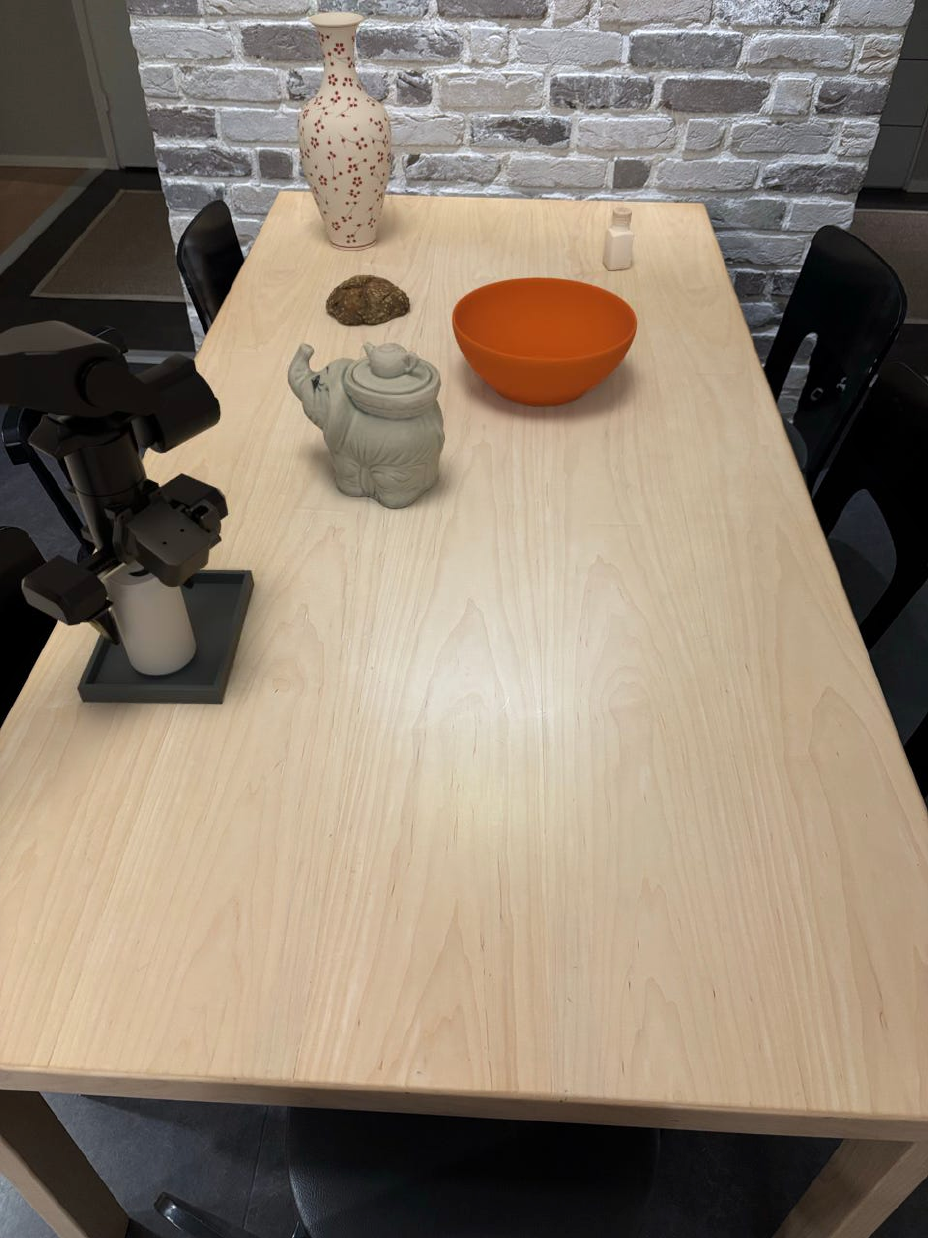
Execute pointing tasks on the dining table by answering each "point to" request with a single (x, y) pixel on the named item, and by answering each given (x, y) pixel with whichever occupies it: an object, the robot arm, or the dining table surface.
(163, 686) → the rectangular tray
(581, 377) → the bowl
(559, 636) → the dining table surface
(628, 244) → the pepper shaker
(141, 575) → the beverage can
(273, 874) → the dining table surface
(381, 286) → the bread roll
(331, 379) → the teapot
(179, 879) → the dining table surface
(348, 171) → the vase
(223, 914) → the dining table surface
